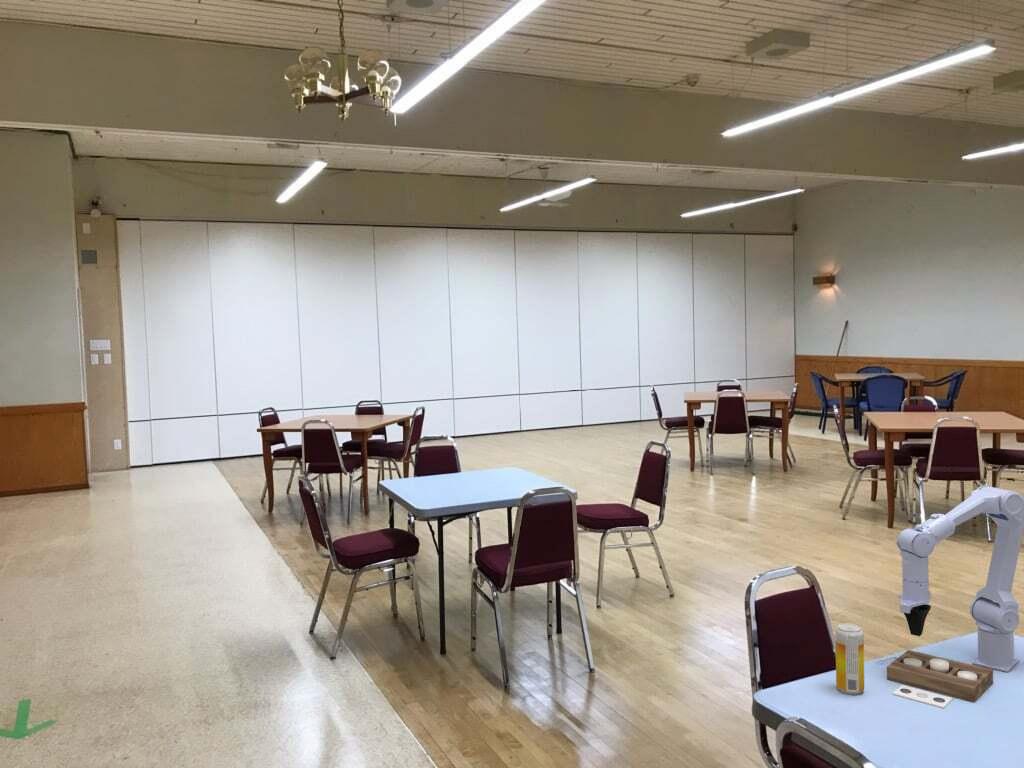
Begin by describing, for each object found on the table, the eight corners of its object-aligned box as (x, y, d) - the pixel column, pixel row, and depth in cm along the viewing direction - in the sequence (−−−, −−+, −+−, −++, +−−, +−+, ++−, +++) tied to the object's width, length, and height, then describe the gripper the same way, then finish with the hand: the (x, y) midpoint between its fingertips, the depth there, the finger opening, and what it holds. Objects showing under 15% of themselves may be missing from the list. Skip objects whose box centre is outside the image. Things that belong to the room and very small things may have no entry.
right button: (960, 679, 191) (960, 669, 190) (979, 684, 188) (979, 673, 188) (955, 685, 188) (955, 674, 188) (974, 689, 185) (974, 679, 185)
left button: (907, 666, 199) (907, 656, 199) (924, 670, 196) (924, 660, 196) (901, 671, 196) (901, 661, 196) (918, 675, 193) (918, 665, 193)
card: (902, 686, 190) (902, 684, 190) (952, 699, 182) (952, 697, 182) (892, 694, 186) (892, 692, 186) (943, 708, 178) (943, 706, 178)
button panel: (908, 662, 204) (908, 649, 204) (993, 682, 190) (993, 669, 190) (887, 679, 194) (886, 666, 194) (974, 702, 180) (974, 688, 180)
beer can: (859, 684, 191) (858, 622, 191) (868, 695, 185) (867, 631, 185) (833, 684, 192) (832, 622, 191) (840, 695, 186) (839, 631, 185)
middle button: (933, 667, 195) (933, 657, 195) (951, 671, 192) (951, 661, 192) (927, 672, 192) (927, 662, 192) (945, 677, 189) (945, 666, 189)
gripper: (909, 570, 203) (909, 623, 204) (886, 583, 193) (887, 639, 194) (939, 575, 198) (940, 629, 199) (917, 588, 188) (918, 646, 189)
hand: (916, 634), depth 196 cm, fingers closed
